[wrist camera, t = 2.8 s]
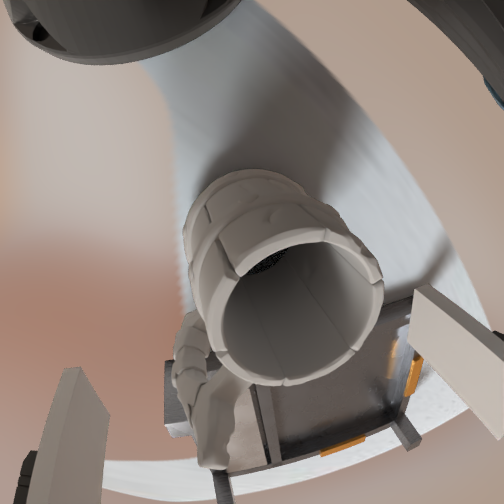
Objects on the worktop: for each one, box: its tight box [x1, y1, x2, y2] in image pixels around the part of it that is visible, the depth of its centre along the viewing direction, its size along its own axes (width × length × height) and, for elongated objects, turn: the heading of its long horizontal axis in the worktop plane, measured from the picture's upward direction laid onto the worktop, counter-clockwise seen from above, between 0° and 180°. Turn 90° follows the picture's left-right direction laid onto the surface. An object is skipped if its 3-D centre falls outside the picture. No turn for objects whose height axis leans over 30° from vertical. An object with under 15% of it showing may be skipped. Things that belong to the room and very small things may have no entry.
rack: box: [164, 296, 424, 504], centre depth 23 cm, size 16×21×6 cm
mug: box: [171, 169, 384, 470], centre depth 14 cm, size 8×12×12 cm, turn 144°
